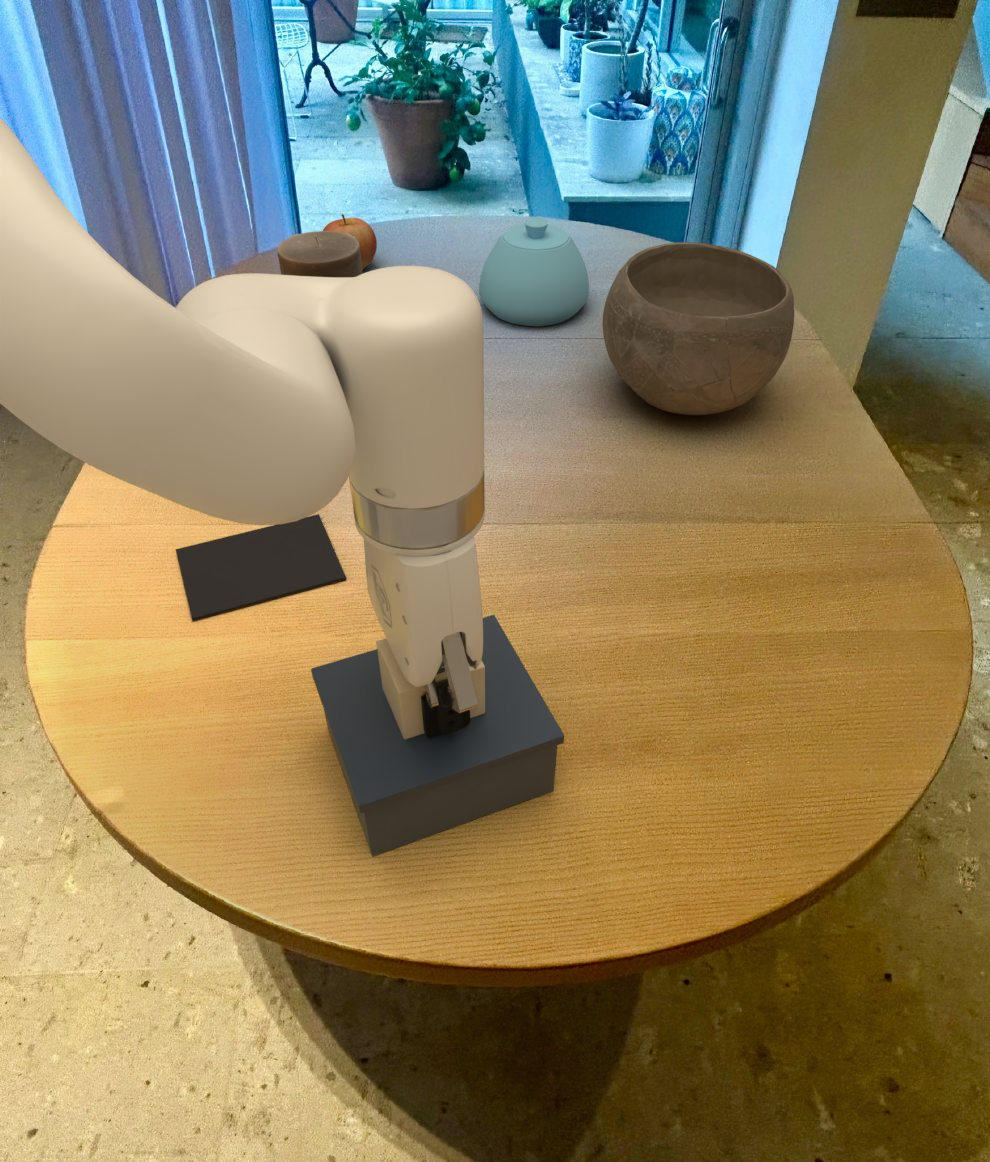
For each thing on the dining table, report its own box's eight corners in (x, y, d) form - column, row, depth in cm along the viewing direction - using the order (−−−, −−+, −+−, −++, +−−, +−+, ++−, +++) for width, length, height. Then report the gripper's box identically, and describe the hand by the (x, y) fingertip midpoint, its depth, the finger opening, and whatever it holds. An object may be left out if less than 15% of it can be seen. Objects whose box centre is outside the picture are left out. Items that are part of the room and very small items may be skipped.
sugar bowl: (495, 276, 129) (496, 194, 121) (597, 288, 126) (604, 206, 119) (465, 322, 119) (463, 237, 111) (575, 337, 116) (581, 250, 108)
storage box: (369, 862, 61) (358, 806, 57) (323, 726, 70) (310, 668, 65) (559, 792, 66) (564, 735, 61) (494, 673, 74) (494, 614, 69)
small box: (404, 740, 60) (398, 693, 57) (382, 688, 64) (375, 640, 60) (485, 713, 62) (485, 666, 59) (460, 663, 65) (458, 616, 62)
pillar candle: (333, 379, 108) (316, 259, 98) (278, 355, 113) (256, 238, 102) (387, 348, 114) (376, 231, 104) (332, 326, 118) (317, 212, 108)
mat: (192, 621, 78) (191, 618, 78) (176, 552, 85) (175, 549, 85) (346, 580, 82) (345, 576, 82) (319, 517, 89) (318, 513, 89)
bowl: (809, 421, 102) (845, 297, 91) (651, 461, 96) (670, 334, 86) (709, 339, 116) (731, 223, 105) (566, 370, 110) (574, 251, 100)
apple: (321, 280, 128) (313, 225, 123) (328, 257, 134) (321, 203, 129) (376, 280, 128) (371, 225, 123) (381, 257, 134) (376, 203, 129)
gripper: (316, 430, 55) (348, 632, 67) (402, 610, 43) (422, 813, 56) (430, 405, 57) (441, 605, 69) (541, 571, 46) (530, 775, 58)
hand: (432, 696), depth 63 cm, fingers closed on small box, 5 cm apart
